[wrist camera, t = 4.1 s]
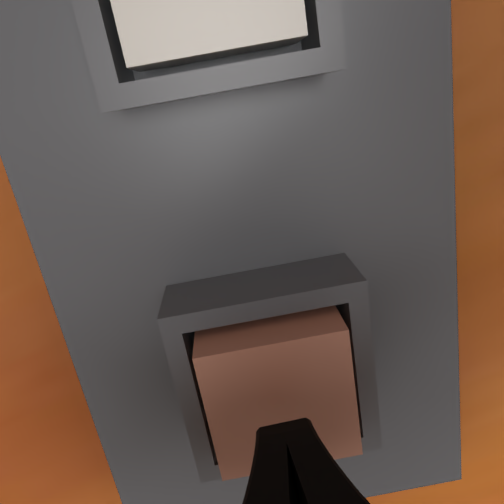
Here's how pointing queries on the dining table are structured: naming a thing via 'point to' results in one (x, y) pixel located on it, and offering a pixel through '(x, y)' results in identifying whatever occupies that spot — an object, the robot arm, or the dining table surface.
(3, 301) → the dining table surface
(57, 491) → the dining table surface
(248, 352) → the terracotta key
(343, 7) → the grey key base
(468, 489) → the dining table surface
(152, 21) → the white key
